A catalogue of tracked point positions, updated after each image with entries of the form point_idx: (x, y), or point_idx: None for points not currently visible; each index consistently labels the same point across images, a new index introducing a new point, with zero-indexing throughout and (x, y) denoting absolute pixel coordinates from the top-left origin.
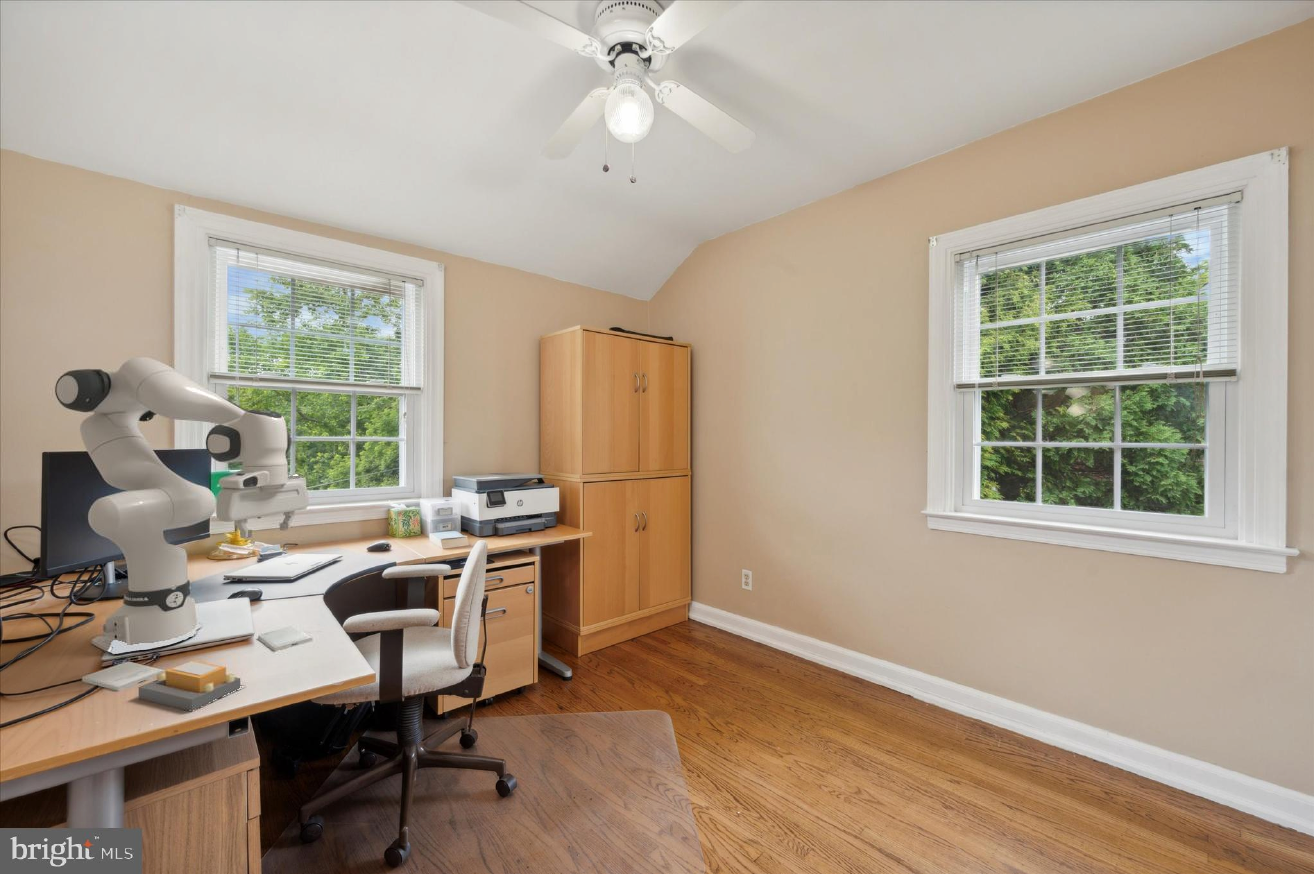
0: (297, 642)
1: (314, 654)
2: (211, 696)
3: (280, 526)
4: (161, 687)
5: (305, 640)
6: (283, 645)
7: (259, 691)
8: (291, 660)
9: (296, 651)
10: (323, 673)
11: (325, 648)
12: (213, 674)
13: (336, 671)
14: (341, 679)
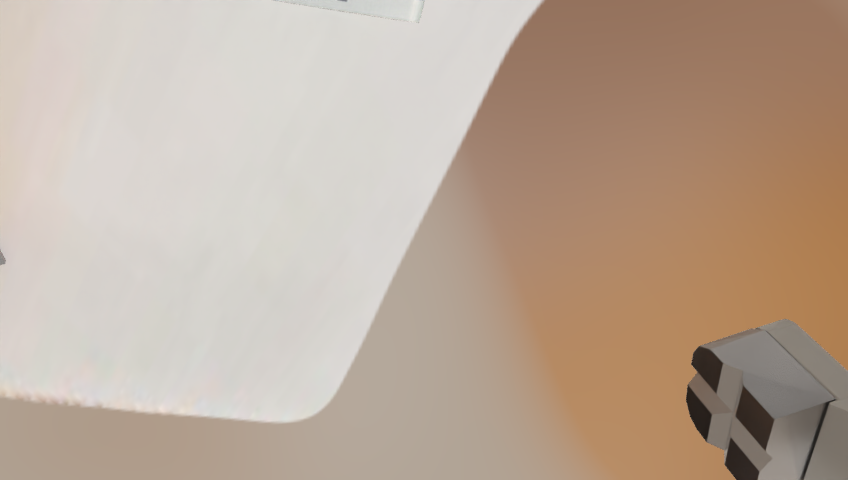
0: (353, 11)
1: (326, 173)
2: None
3: (738, 386)
4: None
5: (387, 17)
6: (290, 2)
7: (34, 326)
8: (240, 155)
9: (305, 77)
10: (247, 348)
11: (385, 151)
12: None
13: (280, 362)
14: (254, 419)
